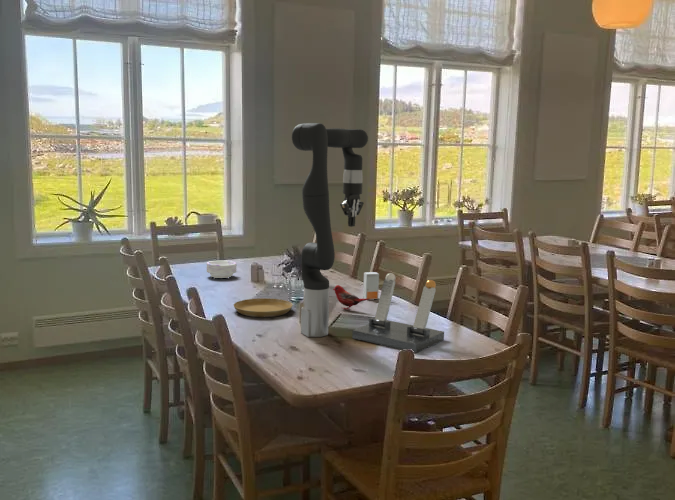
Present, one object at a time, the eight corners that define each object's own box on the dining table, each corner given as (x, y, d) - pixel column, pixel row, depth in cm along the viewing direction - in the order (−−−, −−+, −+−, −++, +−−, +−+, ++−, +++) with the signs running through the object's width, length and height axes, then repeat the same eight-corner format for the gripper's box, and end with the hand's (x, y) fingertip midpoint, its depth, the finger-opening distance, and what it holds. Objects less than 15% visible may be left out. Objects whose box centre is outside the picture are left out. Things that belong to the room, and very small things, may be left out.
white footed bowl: (242, 277, 335) (242, 262, 333) (222, 281, 322) (222, 266, 321) (220, 273, 343) (220, 258, 341) (200, 277, 330) (200, 262, 329)
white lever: (382, 326, 231) (395, 272, 234) (370, 324, 234) (383, 271, 237) (387, 328, 234) (399, 275, 237) (375, 325, 237) (388, 273, 240)
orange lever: (421, 334, 222) (436, 279, 226) (409, 331, 225) (423, 277, 229) (425, 336, 224) (440, 282, 229) (413, 334, 227) (427, 280, 232)
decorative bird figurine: (334, 306, 275) (334, 283, 274) (370, 312, 267) (371, 289, 265) (330, 308, 273) (331, 285, 271) (367, 314, 264) (368, 290, 263)
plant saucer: (249, 303, 280) (249, 295, 279) (301, 308, 273) (301, 300, 272) (222, 316, 257) (222, 307, 257) (278, 322, 250) (278, 313, 249)
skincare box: (365, 300, 289) (366, 274, 287) (362, 298, 293) (363, 272, 291) (378, 299, 291) (379, 273, 289) (375, 297, 295) (376, 271, 293)
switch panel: (416, 353, 215) (416, 336, 214) (352, 338, 230) (352, 323, 229) (443, 339, 231) (444, 324, 230) (382, 326, 246) (383, 312, 245)
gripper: (350, 182, 241) (349, 228, 244) (370, 181, 252) (368, 225, 254) (334, 181, 246) (333, 226, 248) (354, 180, 256) (353, 224, 259)
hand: (351, 226), depth 251 cm, fingers closed
